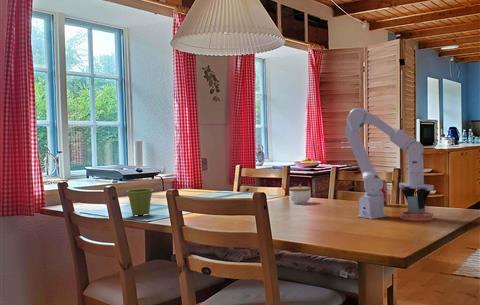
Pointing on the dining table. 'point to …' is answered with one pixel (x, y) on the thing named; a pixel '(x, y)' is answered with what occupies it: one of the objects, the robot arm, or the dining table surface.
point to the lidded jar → (300, 194)
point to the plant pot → (140, 200)
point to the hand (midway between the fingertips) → (416, 207)
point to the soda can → (384, 191)
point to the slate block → (414, 205)
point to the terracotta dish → (416, 216)
